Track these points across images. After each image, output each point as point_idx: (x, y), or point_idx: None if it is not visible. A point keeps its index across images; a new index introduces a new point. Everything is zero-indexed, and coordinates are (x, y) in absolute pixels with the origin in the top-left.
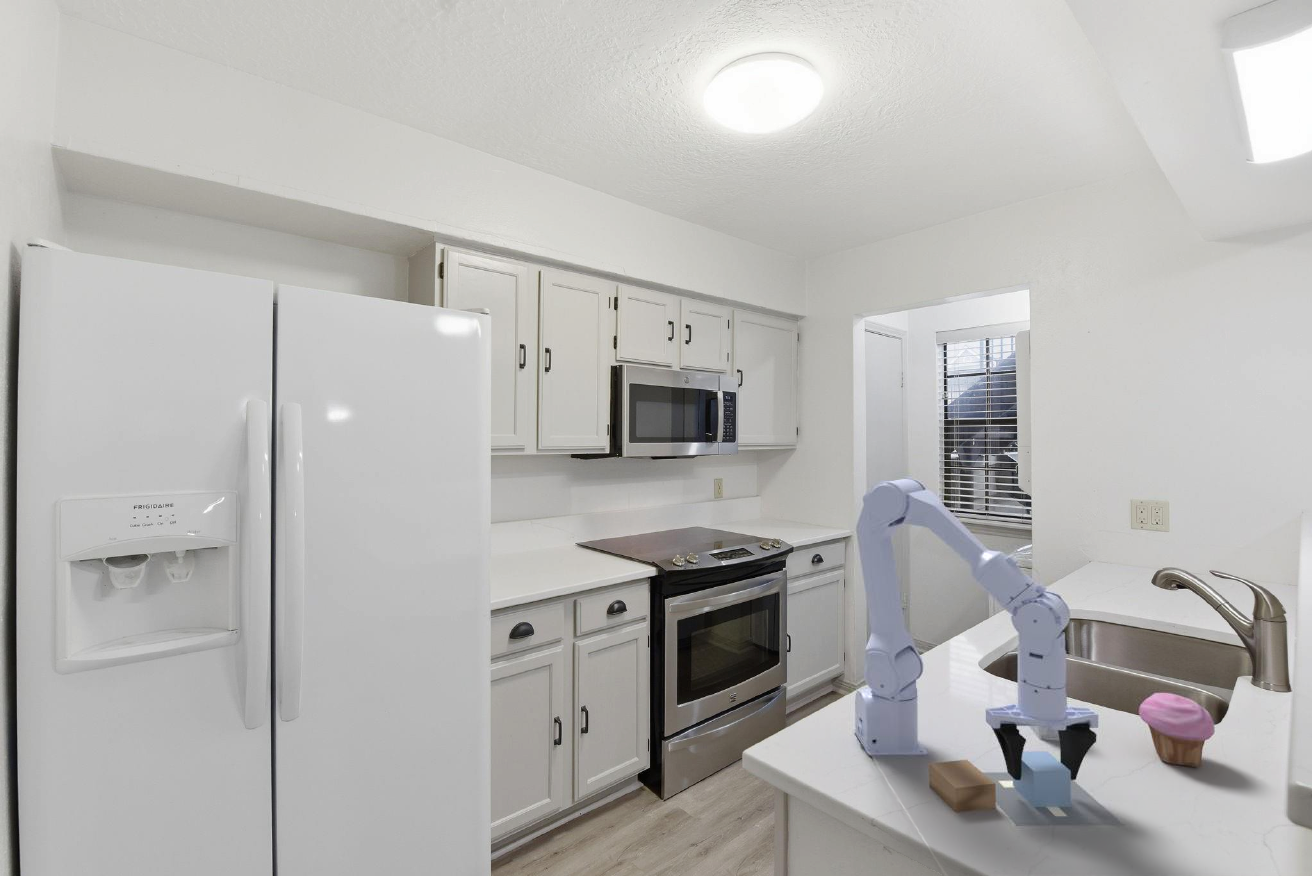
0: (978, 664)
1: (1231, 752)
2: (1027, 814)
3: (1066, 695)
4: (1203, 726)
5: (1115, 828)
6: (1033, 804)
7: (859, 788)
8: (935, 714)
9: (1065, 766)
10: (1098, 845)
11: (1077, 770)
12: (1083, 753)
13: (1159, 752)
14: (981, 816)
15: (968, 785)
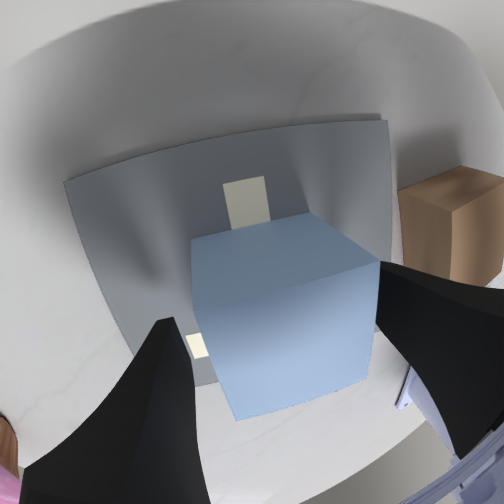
0: None
1: None
2: (342, 172)
3: None
4: None
5: (91, 171)
6: (312, 216)
7: None
8: (324, 459)
9: (185, 367)
10: (184, 66)
11: (147, 342)
12: (109, 409)
13: (5, 431)
14: (428, 166)
15: (493, 193)
